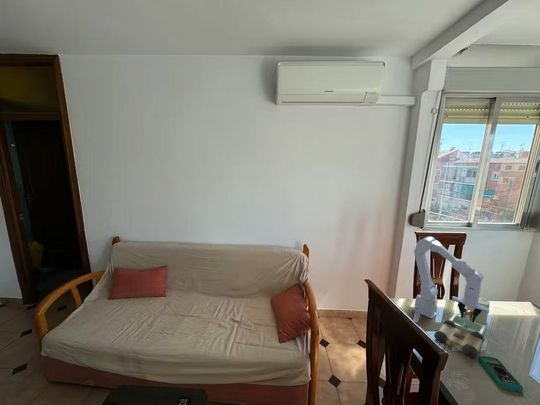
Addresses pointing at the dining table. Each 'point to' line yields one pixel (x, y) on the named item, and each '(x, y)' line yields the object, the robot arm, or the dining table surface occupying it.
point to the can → (482, 316)
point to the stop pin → (467, 318)
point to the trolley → (460, 338)
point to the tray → (473, 326)
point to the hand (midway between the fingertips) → (467, 319)
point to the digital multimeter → (500, 373)
